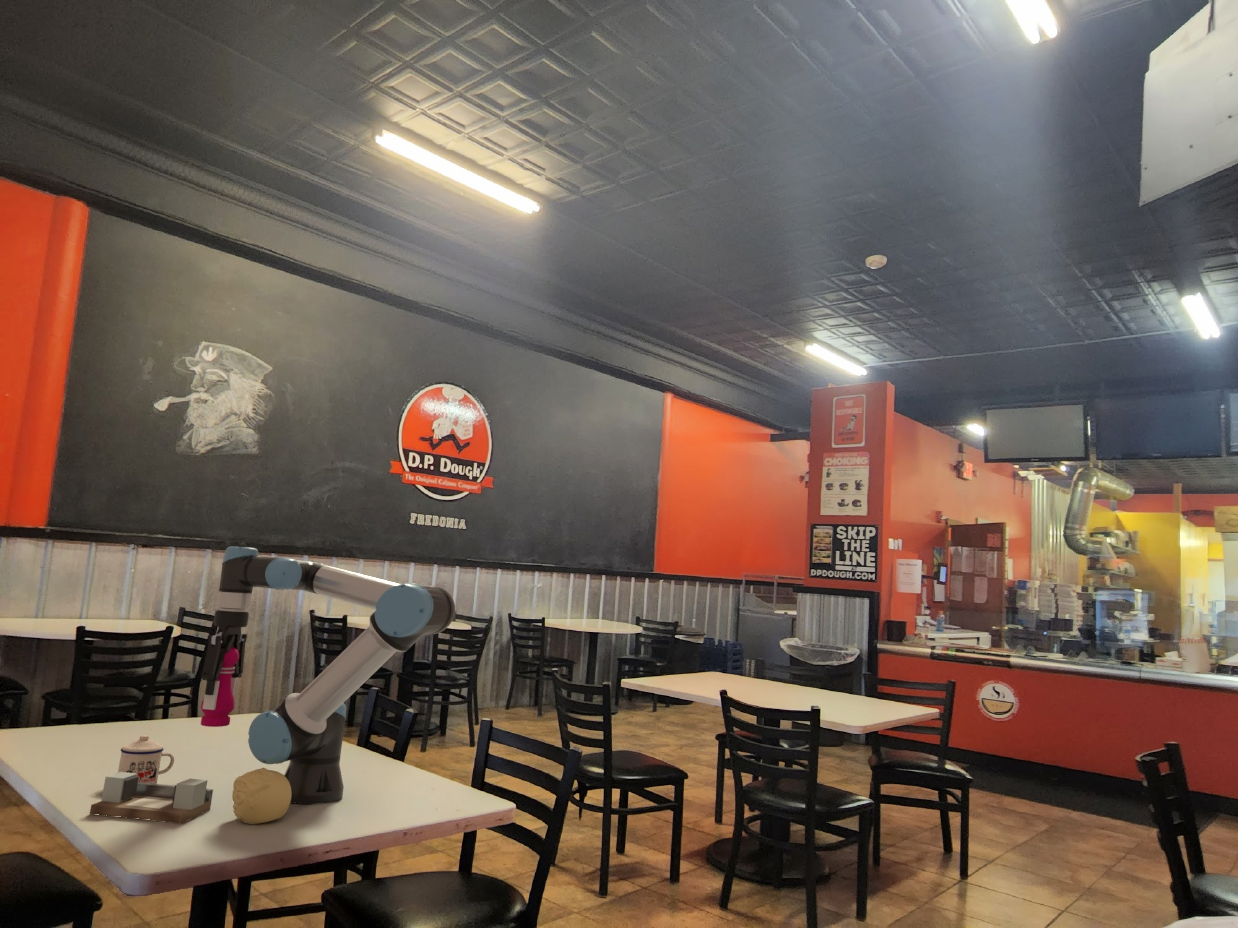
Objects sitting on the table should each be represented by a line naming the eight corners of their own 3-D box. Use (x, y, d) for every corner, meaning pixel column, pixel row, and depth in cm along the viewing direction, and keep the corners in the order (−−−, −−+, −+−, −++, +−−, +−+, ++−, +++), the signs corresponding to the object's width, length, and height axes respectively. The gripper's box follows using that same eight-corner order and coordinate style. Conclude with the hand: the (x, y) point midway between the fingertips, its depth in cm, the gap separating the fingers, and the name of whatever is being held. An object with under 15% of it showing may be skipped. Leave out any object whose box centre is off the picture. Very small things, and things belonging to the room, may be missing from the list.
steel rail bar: (211, 800, 179) (213, 789, 180) (208, 801, 178) (210, 790, 179) (125, 792, 181) (127, 780, 181) (122, 793, 179) (124, 782, 180)
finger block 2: (203, 803, 176) (207, 780, 177) (190, 809, 171) (194, 785, 172) (183, 801, 177) (187, 778, 177) (170, 807, 172) (174, 783, 173)
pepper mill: (207, 728, 186) (220, 640, 190) (192, 723, 191) (205, 637, 194) (237, 725, 192) (249, 640, 195) (222, 721, 196) (235, 638, 200)
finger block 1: (136, 797, 177) (140, 773, 178) (121, 802, 172) (125, 778, 173) (116, 795, 177) (120, 771, 178) (101, 800, 173) (105, 776, 173)
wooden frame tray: (210, 809, 179) (211, 800, 179) (180, 823, 168) (182, 813, 168) (124, 801, 180) (125, 791, 181) (89, 814, 169) (91, 804, 170)
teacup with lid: (118, 791, 187) (127, 740, 189) (110, 783, 194) (119, 733, 196) (174, 787, 195) (182, 737, 197) (165, 778, 202) (173, 730, 204)
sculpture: (220, 816, 175) (228, 765, 177) (275, 810, 183) (282, 760, 185) (239, 830, 167) (247, 776, 168) (296, 822, 175) (303, 771, 177)
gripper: (238, 608, 206) (224, 700, 202) (194, 609, 186) (178, 711, 182) (267, 610, 206) (253, 703, 202) (225, 611, 186) (210, 713, 182)
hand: (217, 706), depth 192 cm, fingers closed on pepper mill, 7 cm apart
